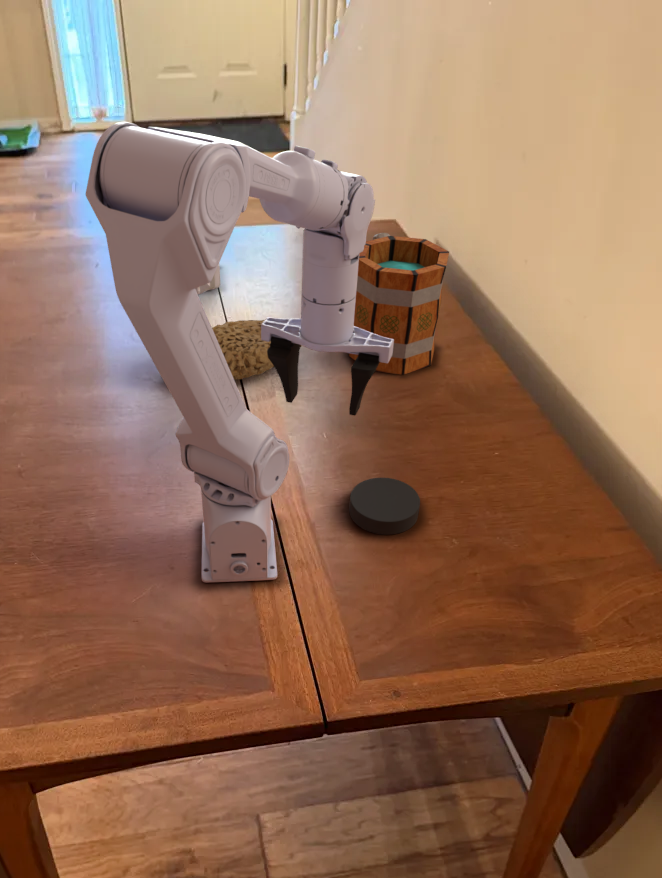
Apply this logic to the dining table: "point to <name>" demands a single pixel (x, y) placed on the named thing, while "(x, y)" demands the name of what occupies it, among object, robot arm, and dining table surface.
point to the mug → (401, 297)
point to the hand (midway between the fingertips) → (322, 404)
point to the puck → (384, 506)
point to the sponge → (243, 347)
